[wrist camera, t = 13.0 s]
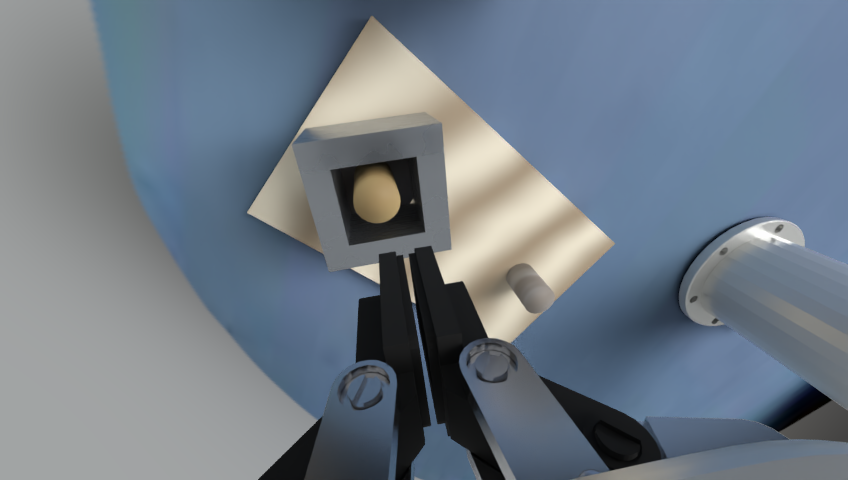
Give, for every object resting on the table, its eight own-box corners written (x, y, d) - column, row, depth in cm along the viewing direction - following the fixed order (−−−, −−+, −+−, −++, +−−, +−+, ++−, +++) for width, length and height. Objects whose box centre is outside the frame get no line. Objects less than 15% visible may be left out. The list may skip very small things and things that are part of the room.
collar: (425, 111, 20) (442, 123, 16) (435, 218, 23) (451, 249, 19) (305, 128, 19) (291, 144, 15) (334, 235, 22) (329, 272, 18)
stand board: (605, 237, 29) (668, 279, 23) (498, 341, 33) (528, 400, 27) (370, 18, 19) (376, -4, 13) (252, 205, 23) (214, 254, 17)
